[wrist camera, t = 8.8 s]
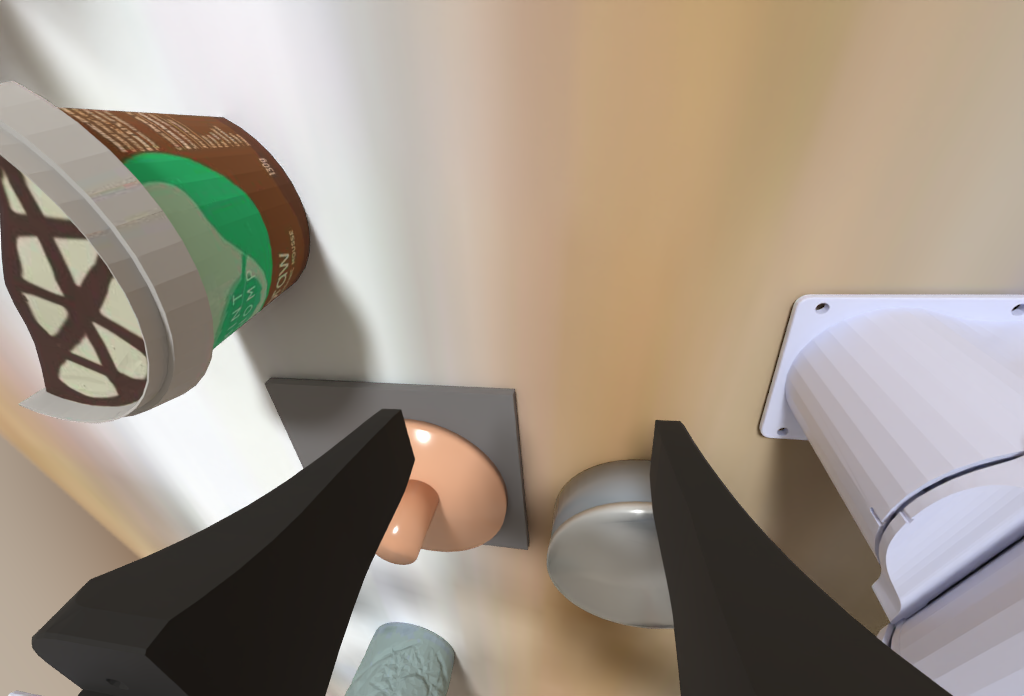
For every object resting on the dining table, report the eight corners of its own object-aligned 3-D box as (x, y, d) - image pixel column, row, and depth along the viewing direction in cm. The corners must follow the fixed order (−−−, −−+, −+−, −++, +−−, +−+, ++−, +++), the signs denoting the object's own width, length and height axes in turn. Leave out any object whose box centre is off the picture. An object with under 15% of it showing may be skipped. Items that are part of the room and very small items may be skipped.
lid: (528, 454, 26) (514, 521, 22) (487, 560, 33) (470, 627, 28) (342, 394, 26) (294, 449, 22) (338, 511, 33) (300, 570, 29)
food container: (311, 351, 26) (170, 479, 17) (214, 305, 25) (21, 414, 17) (354, 149, 19) (160, 199, 11) (224, 82, 19) (-87, 79, 10)
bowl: (749, 462, 24) (772, 523, 21) (716, 578, 30) (730, 640, 26) (550, 448, 26) (542, 501, 23) (555, 558, 32) (549, 614, 29)
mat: (514, 389, 24) (512, 395, 24) (529, 542, 32) (527, 549, 31) (270, 377, 28) (264, 383, 27) (334, 519, 35) (330, 526, 34)
